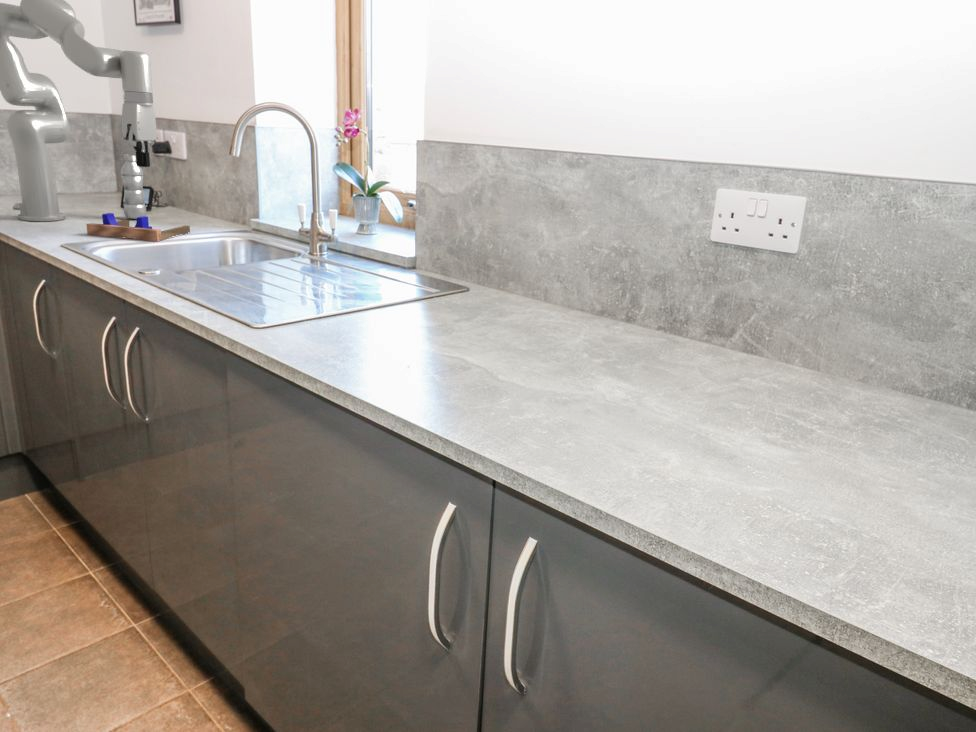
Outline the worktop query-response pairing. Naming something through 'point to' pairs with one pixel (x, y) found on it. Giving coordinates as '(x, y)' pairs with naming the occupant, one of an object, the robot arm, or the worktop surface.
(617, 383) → the worktop surface
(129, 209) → the plastic bottle
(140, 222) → the cable clip
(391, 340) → the worktop surface
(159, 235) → the guide channel
